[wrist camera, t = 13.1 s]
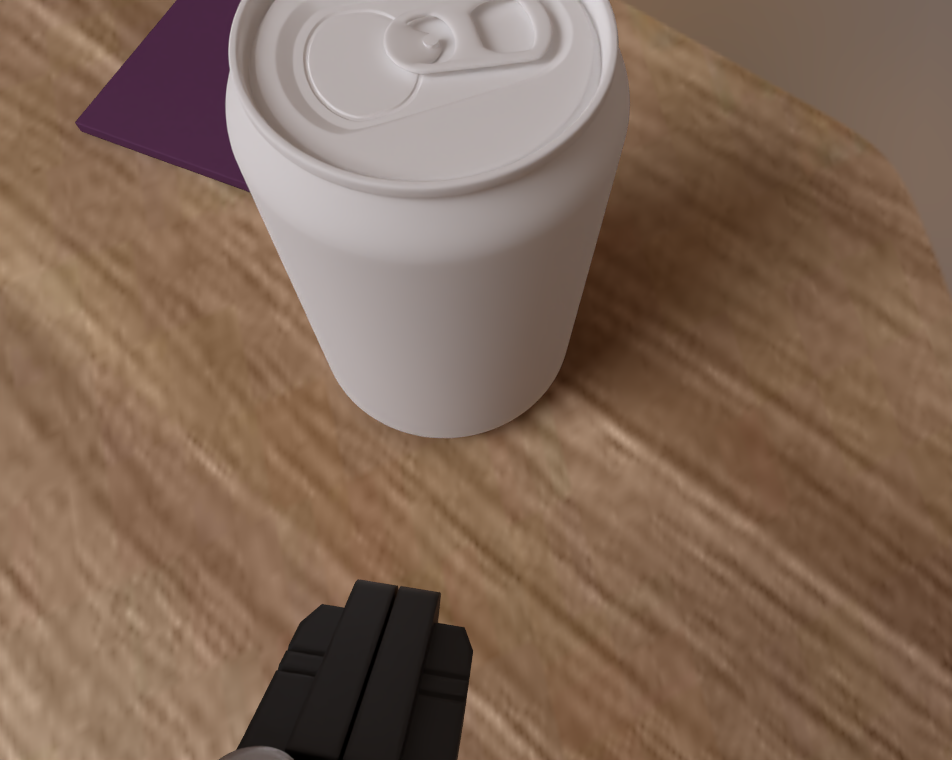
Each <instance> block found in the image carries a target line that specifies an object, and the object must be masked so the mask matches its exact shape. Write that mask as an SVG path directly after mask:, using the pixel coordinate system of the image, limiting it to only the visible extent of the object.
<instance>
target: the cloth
mask: <svg viewBox="0 0 952 760" xmlns="http://www.w3.org/2000/svg"><path fill="white" fill-rule="evenodd" d="M240 2H241V0H177V1H176V2H175V3H174V4H173V5H172V7H171V8H170V9H169V10H168V11H167V13H166V14H165V15H164V16H163V17H162V19H161V20H160V21H159V22H158V23H157V25H156V26H155V27H154V28H153V29H152V31H151V32H150V33H149V34H148V35H147V37H146V38H145V39H144V40H143V41H142V43H141V44H140V45H139V46H138V47H137V49H136V50H135V51H134V52H133V53H132V55H131V56H130V57H129V58H128V59H127V61H126V62H125V63H124V64H123V65H122V67H121V68H120V69H119V70H118V71H117V73H116V74H115V75H114V76H113V77H112V79H111V80H110V81H109V82H108V83H107V85H106V86H105V87H104V88H103V89H102V91H101V92H100V93H99V94H98V95H97V97H96V98H95V99H94V100H93V101H92V103H91V104H90V105H89V106H88V107H87V109H86V110H85V111H84V112H83V113H82V115H81V116H80V117H79V118H78V119H77V121H76V122H75V123H76V125H77V126H78V128H79V129H80V130H81V131H82V132H85V133H87V134H90V135H93V136H96V137H99V138H101V139H104V140H107V141H110V142H112V143H115V144H118V145H121V146H124V147H126V148H129V149H132V150H135V151H137V152H140V153H143V154H146V155H148V156H151V157H154V158H157V159H160V160H162V161H165V162H168V163H171V164H173V165H176V166H179V167H182V168H185V169H187V170H190V171H193V172H196V173H198V174H201V175H204V176H207V177H209V178H212V179H215V180H218V181H221V182H223V183H226V184H229V185H232V186H234V187H237V188H240V189H243V190H246V191H248V192H250V190H249V188H248V186H247V184H246V181H245V179H244V177H243V175H242V173H241V170H240V168H239V166H238V163H237V161H236V159H235V156H234V153H233V151H232V147H231V144H230V140H229V135H228V130H227V123H226V89H227V83H228V77H229V72H230V67H229V55H228V49H229V37H230V31H231V26H232V23H233V19H234V16H235V13H236V11H237V8H238V6H239V4H240Z"/></svg>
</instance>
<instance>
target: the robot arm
mask: <svg viewBox="0 0 952 760" xmlns="http://www.w3.org/2000/svg"><path fill="white" fill-rule="evenodd" d="M440 598H441V593H440V592H434V591H428V590H422V589H415V588H409V587H403V586H400V588H399V590H398V586H396V585H390V584H384V583H377V582H371V581H365V580H359V579H358V580H357V581H356V582H355V584H354V586H353V589H352V591H351V594H350V596H349V598H348V601H347V603H346V605H345V608H342V607H336V606H330V605H324V604H322V605H320V606H319V607H318V608H317V609H316V610H314V611H313V612H312V613H311V614H310V615H309V616H307V617H306V618H305V619H304V620H303V621H301V622H300V624H299V626H298V628H297V630H296V632H295V634H294V636H293V638H292V640H291V642H290V644H289V647H288V651H286V652H285V654H284V656H283V658H282V660H281V662H280V664H279V668H278V671H277V670H276V672H275V674H274V676H273V678H272V680H271V682H270V684H269V686H268V688H267V690H266V692H265V694H264V696H263V698H262V700H261V702H260V704H259V706H258V708H257V710H256V712H255V714H254V716H253V718H252V720H251V722H250V724H249V726H248V728H247V730H246V732H245V734H244V736H243V738H242V740H241V742H240V744H239V746H238V748H237V749H236V751H233V752H231V753H229V754H227V755H225V756H223V757H222V758H220V759H219V760H457V759H458V752H459V746H460V740H461V733H462V727H463V720H464V713H465V706H466V699H467V692H468V684H469V677H470V670H471V663H472V656H473V649H472V647H471V644H470V641H469V638H468V636H467V633H466V630H465V627H459V626H453V625H446V624H440V623H438V617H439V608H440Z"/></svg>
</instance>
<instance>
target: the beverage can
mask: <svg viewBox="0 0 952 760" xmlns="http://www.w3.org/2000/svg"><path fill="white" fill-rule="evenodd" d="M228 55H229V67H230V72H229V77H228V83H227V89H226V123H227V130H228V135H229V140H230V144H231V147H232V151H233V153H234V156H235V159H236V161H237V163H238V166H239V168H240V170H241V173H242V175H243V177H244V179H245V181H246V184H247V186H248V188H249V190H250V192H251V195H252V197H253V199H254V201H255V203H256V206H257V208H258V210H259V212H260V214H261V217H262V219H263V221H264V223H265V225H266V228H267V230H268V232H269V234H270V236H271V239H272V241H273V243H274V245H275V247H276V249H277V252H278V254H279V256H280V258H281V260H282V263H283V265H284V267H285V269H286V271H287V274H288V276H289V278H290V280H291V282H292V285H293V287H294V289H295V291H296V293H297V295H298V298H299V300H300V302H301V304H302V306H303V309H304V311H305V313H306V315H307V317H308V320H309V322H310V324H311V326H312V328H313V331H314V333H315V335H316V337H317V339H318V342H319V344H320V346H321V348H322V350H323V352H324V355H325V357H326V359H327V361H328V363H329V366H330V368H331V370H332V372H333V374H334V376H335V378H336V379H337V381H338V383H339V384H340V386H341V387H342V389H343V390H344V392H345V393H346V394H347V395H348V396H349V398H350V399H351V400H352V401H353V402H354V403H355V404H356V405H357V406H358V407H360V408H361V409H362V410H363V411H364V412H366V413H367V414H368V415H370V416H371V417H373V418H374V419H376V420H378V421H379V422H381V423H383V424H385V425H387V426H389V427H392V428H394V429H397V430H399V431H402V432H405V433H409V434H413V435H417V436H423V437H431V438H458V437H466V436H471V435H476V434H480V433H484V432H487V431H490V430H493V429H495V428H498V427H500V426H502V425H504V424H506V423H508V422H510V421H512V420H513V419H515V418H517V417H518V416H520V415H521V414H523V413H524V412H525V411H527V410H528V409H529V408H530V407H531V406H533V405H534V404H535V403H536V402H537V401H538V400H539V399H540V398H541V397H542V396H543V394H544V393H545V392H546V391H547V390H548V388H549V387H550V385H551V384H552V382H553V381H554V379H555V378H556V376H557V374H558V372H559V370H560V368H561V365H562V363H563V360H564V357H565V354H566V351H567V347H568V344H569V340H570V336H571V333H572V329H573V326H574V322H575V318H576V315H577V311H578V308H579V304H580V300H581V297H582V293H583V289H584V286H585V282H586V279H587V275H588V271H589V268H590V264H591V261H592V257H593V253H594V250H595V246H596V243H597V239H598V235H599V232H600V228H601V224H602V221H603V217H604V214H605V210H606V206H607V203H608V199H609V196H610V192H611V188H612V185H613V181H614V178H615V174H616V170H617V167H618V163H619V159H620V156H621V152H622V149H623V145H624V141H625V137H626V133H627V128H628V122H629V111H630V95H629V84H628V78H627V72H626V68H625V64H624V61H623V58H622V55H621V52H620V49H619V46H618V30H617V25H616V20H615V16H614V13H613V10H612V7H611V4H610V2H609V0H241V2H240V4H239V6H238V8H237V11H236V13H235V16H234V19H233V23H232V26H231V31H230V37H229V49H228Z"/></svg>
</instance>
